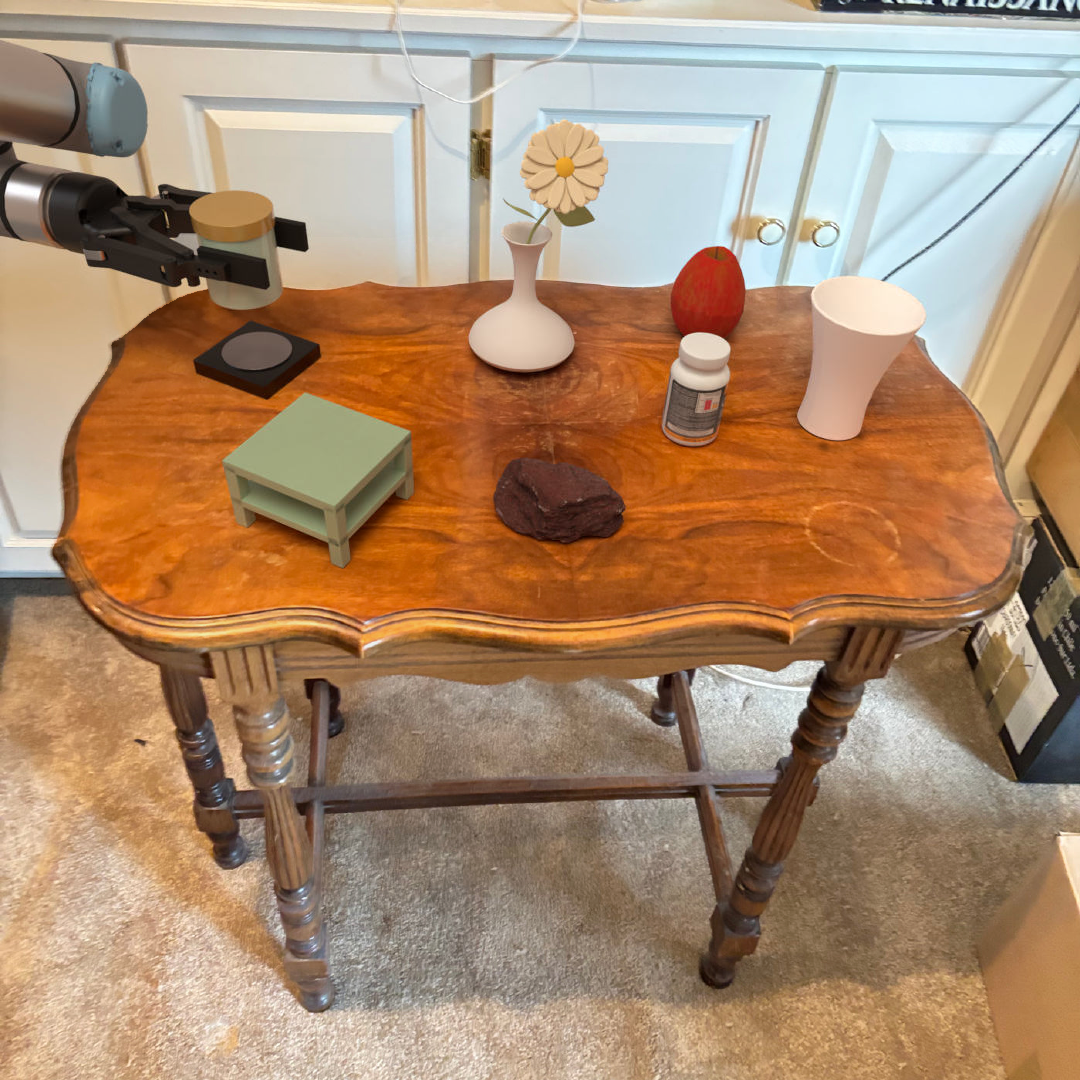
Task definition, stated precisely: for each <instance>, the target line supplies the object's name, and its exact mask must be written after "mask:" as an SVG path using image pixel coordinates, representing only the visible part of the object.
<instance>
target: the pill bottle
mask: <svg viewBox="0 0 1080 1080" xmlns="http://www.w3.org/2000/svg"><path fill="white" fill-rule="evenodd" d="M731 351H732V349H731V345H730V343H729V342H728V341H727V340H726V339H725V338H724V339H723V338H721V337H719V336H717V335H714V334H710V333H692V334H689V335H687V336H684V337H682V338H681V340H680V343H679V347H678V353H677V354H678V357H677V358H676V359H675V360H674V361H673V363H672V364H671V366H670V370H669V376H668V383H667V389H666V394H665V399H664V404H663V405H664V406H663V411H662V418H661V429H662V431H663V434H664V435H665V436H666V437H667V438H668V439H669V440H671V441H672V442H674V443H676V444H677V445H678V444H679V445H682V446H685V447H702V446H706V445H708V444H710V443H712V442H713V441H714V440H715V439H716V438H717V436H718V433H719V430H720V426H721V421H722V417H723V412H724V407H725V402H726V399H727V393H728V388H729V384H730V380H731V370H730V368H729V366H728V363H729V360H730V357H731Z"/></svg>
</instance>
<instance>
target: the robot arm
mask: <svg viewBox="0 0 1080 1080" xmlns="http://www.w3.org/2000/svg"><path fill="white" fill-rule="evenodd" d="M148 111H149V110H148V104H147V99H146V96H145V94H144V91H143V88H142V87H141V85H140V83H139V82H138V80H137V79H136V78H135V77H134V76H133V75H132V74H131V73H130V72H128V71H127V70H125V69H122V68H118V67H113V66H108V65H104V64H102V63H100V62H92V63H90V62H83V61H78V60H73V59H69V58H65V57H62V56H59V55H54V54H51V53H47V52H41V51H39V50H37V49H33V48H31V47H26V46H23V45H20V44H16V43H12V42H9V41H6V40H3V39H0V237H4V238H10V239H14V240H19V241H21V242H26V243H27V242H28V243H33V244H36V245H41V246H46V247H50V248H55V249H58V250H67V251H69V252H71V253H76V254H80V255H84V258H85V262H86V265H87V266H88V267H90V268H99V269H110V270H112V271H113V270H114V271H117V272H120V273H124V274H127V275H130V276H134V277H137V278H140V279H144V280H147V281H150V282H154V283H157V284H160V285H163V286H166V287H170V288H178V287H181V286H182V284H183V281H182V280H183V279H186V281H187V286H188V287H190V288H196V287H199V286H200V285H201V279H200V278H204V279H206V278H208V279H213V280H217V281H226V282H231V283H236V284H240V285H245V286H250V287H255V288H259V289H264V290H267V289H268V288H269V287H270V282H269V276H268V269H267V263H266V259H264V258H259V257H254V256H249V255H244V254H240V253H235V252H230V251H225V250H220V249H215V248H210V247H206V246H200V247H199V246H198V247H197V248H196V253H197V254H195V252H194V250H193V249H192V248H190V247H188V246H186V245H184V244H182V243H180V242H178V241H177V240H175V239H177V238H178V237H179V236H180V234H191V235H192V234H194V235H196V232H195V231H194V230H193V227H192V223H191V218H190V214H189V209H190V206H191V205H192V203H193V202H195V201H196V200H197V199H199V198H201V197H203V196H206V195H208V194H212V193H213V192H208V191H202V190H195V189H185V188H180V187H178V186H174V185H171V184H169V183H161V184H158V185H157V190H158V194H156V195H154V196H152V197H149V196H147V195H142V194H141V195H133V194H132V195H129V194H127V193H126V192H125V191H124V190H123V189H122V188H121V187H120V186H119V185H118V184H117V183H116V182H114V181H113V180H112V179H110V178H107V177H105V176H100V175H95V174H90V173H86V172H81V171H80V172H79V171H74V170H70V169H67V168H60V167H56V166H55V167H54V166H50V165H44V164H38V163H33V162H28V161H24V160H21V159H18V157H17V155H16V152H15V148H14V145H13V144H14V143H16V144H23V145H32V146H38V147H41V148H48V149H56V150H62V151H69V152H73V153H74V152H75V153H80V154H86V155H94V156H95V157H100V158H104V157H114V158H129V157H131V156H134V155H135V154H137V152H138V151H139V150H140V149H141V148H142V147H143V145H144V142H145V140H146V137H147V133H148V127H149V125H148V114H149V113H148ZM274 231H275V237H276V244H277V248H282V249H286V250H292V251H297V252H301V253H306V252H307V251H308V250H309V249H310V247H309V240H308V230H307V224H306V222H305V221H299V220H294V219H289V218H286V217H285V218H284V217H279V216H275V225H274ZM162 267H163V269H162ZM163 270H164V271H163Z"/></svg>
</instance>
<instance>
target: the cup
mask: <svg viewBox="0 0 1080 1080" xmlns="http://www.w3.org/2000/svg"><path fill="white" fill-rule="evenodd" d="M810 300H811V321H812V345H813V346H812V357H811V368H810V374H809V379H808V383H807V386H806V391H805V394H804V396H803V399H802V401H801V404H800V405H799V408H798V410H797V413H796V416H797V417H796V418H797V421H798V423H799V424H800V425H801V427H802V428H803V429H805V430H806V431H807V432H809V433H811V434H813V435H814V436H816V437H819V438H823V439H826V440H831V441H846V440H850V439H853V438H855V437H857V436H858V435H859V434H860V433H861V431H862V427H863V423H864V419H865V415H866V411H867V407H868V405H869V403H870V400H871V399H872V396H873V394H874V392H875V391H876V388H877V387H878V385H879V384H880V381H881V380H882V379H883V377H884V376H885V374H886V372H887V370H888V369H889V368H890V366H891V365H892V364H893V363H894V361H895V360H896V359H897V357H898V356H899V355H900V353H901V352H902V351H903V350H904V349H905V347H906V346H907V344H908V343H909V342H911V340H912V339H913V337H914V336H916V334H917V333H918V332H919V330H921V328H922V327H923V325H924V324H925V323H926V319H927V314H926V309H925V307H924V305H923V304H922V303H921V301H920V300H919V299H917V297H916V296H915V295H913V294H912V293H910V292H908V291H907V290H906V289H904V288H901V287H900V286H898V285H895V284H892V283H890V282H887V281H886V280H885V281H884V280H880V279H876V278H873V277H866V276H858V275H842V276H834V277H830V278H827V279H824V280H822V281H820V282H819V283H817V284H816V285H815V286H814V287H813V288H812V291H811V293H810Z"/></svg>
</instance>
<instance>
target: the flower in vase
mask: <svg viewBox="0 0 1080 1080" xmlns="http://www.w3.org/2000/svg"><path fill="white" fill-rule="evenodd" d="M599 143H600V136H599V135H598V134H597V133H595V132H594V130H593V129H587V128H586V127H584V126H583V125H582V124H581V123H575V124H574V123H573V122H571V121H569V120H568V119H561V120H560V121H559V122H556V123H553V124H549V125H547V126H546V129H541V130H539V131H538V132H534V133H533V134H531V136H530V140H529V141H528V144H527V148H526V150H525V152H524V153H523V157H522V158H523V160H522V161H521V163H520V167H521V168H520V170H519V176H520V177H521V178H522V179H524V182H523V184H524V188H526V189H527V190H530V192H529V194H528V195H529V199H530V200H531V201H533V202H536V204H538V205H540V206H541V205H542V206H543V207H544V208H545V209H546V210H545V211H544V212H543V213H542V215H541V216H540V217H539V218H538V219H537V218H536V217H535V216H534V215H533V214H532V213H531V212H529V211H527V210H525V209H523V208H520V207H517V206H515V205H512V204H511V203H509V202H508V201H507V200H506V199H505V198H503V197H502V200H503V201H504V204H506V205H507V206H509V207H510V208H511V209H513V210H515V211H516V212H518V213H519V214H520V213H521V214H523V215H525V216H527V217H529V218H532V219H533V220H536V222H535V221H514V222H511V223H508V224H507V225H505V226H503V228H501V237H502V238H503V239H504V240H505V241H506V243H507V245H508V247H509V249H510V254H511V258H512V265H513V287H512V291H511V295H510V297H509V298H508V299H507V300H505V301H504V302H502V303H499V304H498V305H495V306H494V307H492V308H490V309H488V310H487V311H485V312H484V313H483V314H482V315H480V316H479V317H478V318H477V319H476V320H475V321H474V323H473V324H472V326H471V328H470V330H469V333H468V343H469V346H470V347H471V349H472V351H473V352H474V353H475V355H476V356H477V357H478V358H479V359H481V361H483V362H484V363H486V364H488V365H490V366H492V367H494V368H497V369H500V370H503V371H508V372H515V373H533V372H534V373H535V372H541V371H545V370H549V369H552V368H555V367H556V366H558V365H560V364H562V363H563V362H564V361H565V360H566V359H567V358H568V357H570V355H571V353H572V352H573V351H574V349H575V343H576V341H575V337H574V334H573V331H572V328H571V327H570V325H569V324H568V323H567V322H566V321H565V320H564V319H563V318H562V317H561V316H560V314H557V312H555V311H554V310H552V309H551V308H549V307H547V306H546V305H544V304H543V303H541V302H540V301H539V299H538V296H537V292H536V278H537V271H538V264H539V261H540V258H541V254H542V252H543V250H544V248H545V247H546V245H547V244H548V243H549V242H550V241H551V240H552V237H553V232H552V230H551V228H549V227H547V226H546V225H544V224H542V222H543V221H544V220H545V218H546V217H547V216H548V215H549V213H550V212H551V210H553V213H554V215H555V216H556V218H557V219H558V221H559V222H560V223H561V224H562V225H563V226H565V227H569V228H573V227H574V228H575V227H579V226H585V225H587V224H590V223H592V222H595V221H596V219H595V217H594V215H593V214H592V212H591V211H590V210H589V209H588V207H586V205H587V204H589V203H591V202H594V201H596V200H597V199H598V198H599V193H600V191H601V189H600V188H601V187H603V186H604V184H605V178H606V177H605V175H606V174H607V173H608V171H609V159H608V158H607V157H605V156H604V152H605V149H604V147H603V146H602V145H601V144H599Z"/></svg>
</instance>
